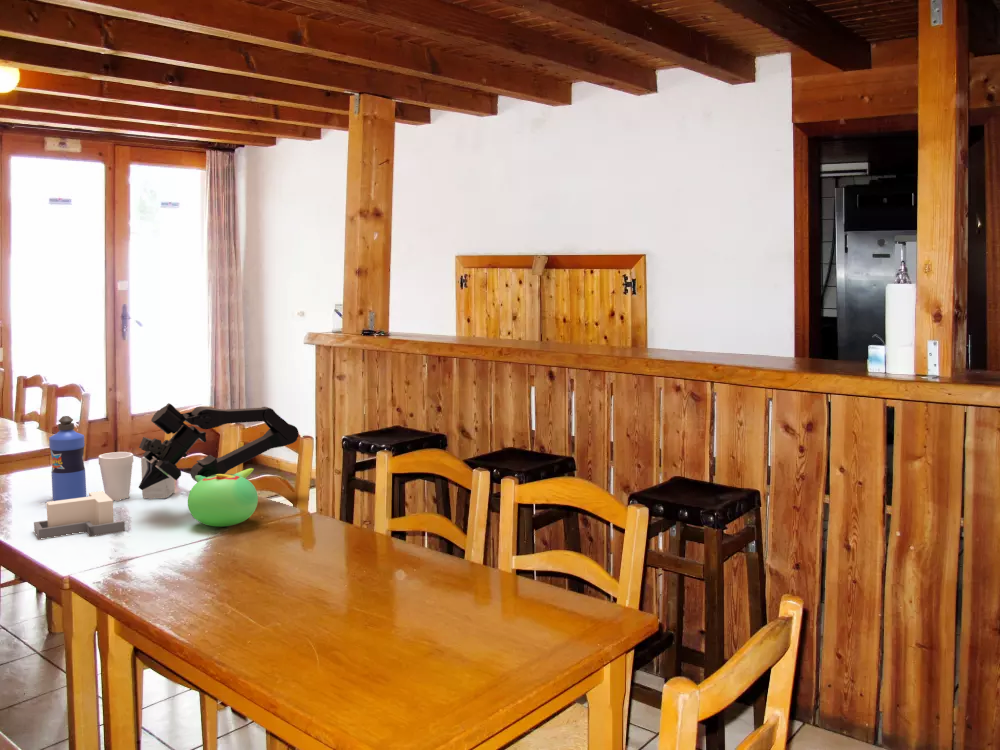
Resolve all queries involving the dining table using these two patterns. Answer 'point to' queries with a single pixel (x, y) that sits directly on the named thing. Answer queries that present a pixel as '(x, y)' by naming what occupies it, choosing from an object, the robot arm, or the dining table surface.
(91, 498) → the t block
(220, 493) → the green rounded blob
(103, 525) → the t outline
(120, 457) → the foam cup
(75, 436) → the water bottle
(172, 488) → the supplement box
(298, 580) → the dining table surface
